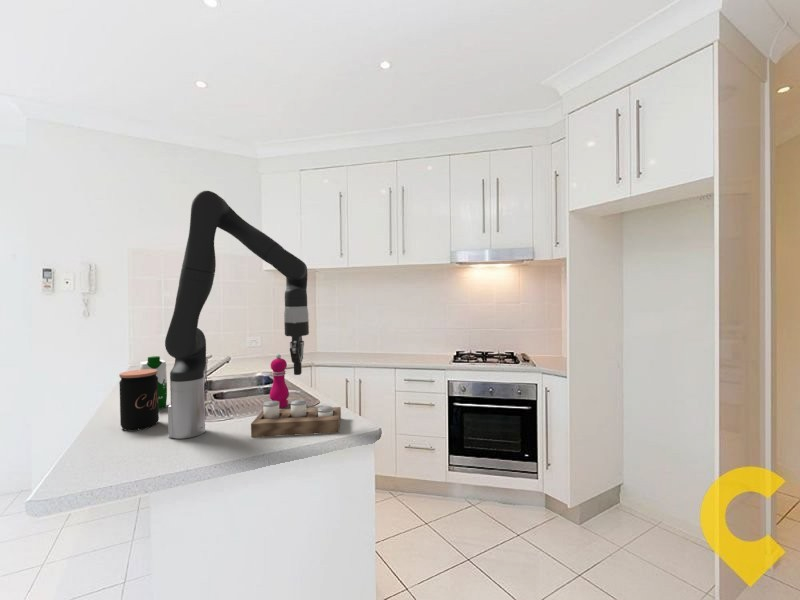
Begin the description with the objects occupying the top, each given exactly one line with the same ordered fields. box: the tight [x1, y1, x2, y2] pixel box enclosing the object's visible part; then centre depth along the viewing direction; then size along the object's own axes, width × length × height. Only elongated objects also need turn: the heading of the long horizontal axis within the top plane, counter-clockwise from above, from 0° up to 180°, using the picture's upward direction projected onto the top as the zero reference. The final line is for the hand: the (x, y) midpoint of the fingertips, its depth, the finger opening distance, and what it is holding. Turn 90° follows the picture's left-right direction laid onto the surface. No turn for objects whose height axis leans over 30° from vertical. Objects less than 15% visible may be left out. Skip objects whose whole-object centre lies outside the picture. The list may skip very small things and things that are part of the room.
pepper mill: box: [269, 353, 290, 409], centre depth 153 cm, size 7×7×20 cm
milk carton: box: [139, 355, 168, 410], centre depth 154 cm, size 9×9×20 cm
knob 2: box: [317, 405, 334, 417], centre depth 128 cm, size 5×5×5 cm
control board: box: [250, 406, 342, 438], centre depth 127 cm, size 26×14×4 cm, turn 96°
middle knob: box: [290, 399, 307, 418], centre depth 127 cm, size 5×5×5 cm
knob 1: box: [262, 400, 280, 419], centre depth 126 cm, size 5×5×5 cm
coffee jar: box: [118, 369, 160, 431], centre depth 131 cm, size 11×11×18 cm
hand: (297, 374), depth 127 cm, fingers closed
